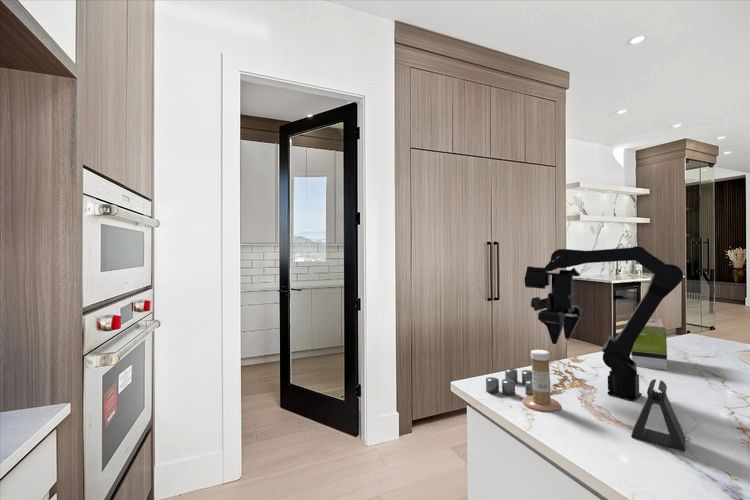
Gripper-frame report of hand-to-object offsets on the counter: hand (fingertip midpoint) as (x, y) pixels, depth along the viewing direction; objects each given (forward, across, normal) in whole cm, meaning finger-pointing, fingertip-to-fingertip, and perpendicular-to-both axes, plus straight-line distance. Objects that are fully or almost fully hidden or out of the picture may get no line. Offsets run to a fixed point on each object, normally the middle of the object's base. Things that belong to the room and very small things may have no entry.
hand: (560, 341), depth 111 cm
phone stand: (+12, +18, +28) cm, 35 cm away
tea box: (+13, -43, +13) cm, 47 cm away
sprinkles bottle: (+13, +18, +3) cm, 22 cm away
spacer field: (+14, +13, -7) cm, 20 cm away
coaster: (+13, +18, +3) cm, 23 cm away
